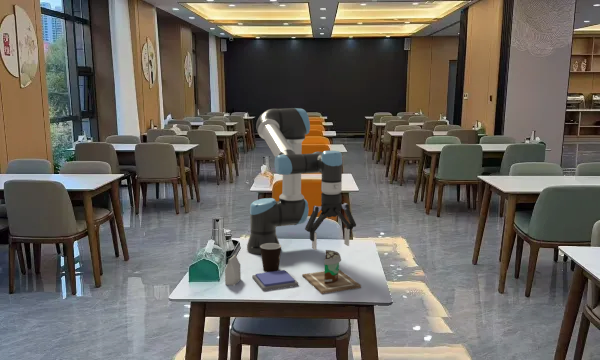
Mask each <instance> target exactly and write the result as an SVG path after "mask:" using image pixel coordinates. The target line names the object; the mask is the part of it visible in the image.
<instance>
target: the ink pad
mask: <svg viewBox="0 0 600 360" xmlns="http://www.w3.org/2000/svg"><path fill="white" fill-rule="evenodd" d="M252 280H254V282H255V284H256V285H257V286H258V287H259V288H260V289H261V291H263V292H264V291H271V289H272V290H277V289H278V288H279V289H285V288H284V287H286V288H291V287H290V286H293V287H298V286H299V282H298V281H297V280H296V279H295V277H293V276H292V275H291V274H290V273H289V272H288V271H287V270H285V269H283V270H278V271H274V272H261V273H260V272H259V273H255V274H253V275H252Z"/></svg>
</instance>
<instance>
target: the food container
mask: <svg viewBox="0 0 600 360" xmlns="http://www.w3.org/2000/svg"><path fill="white" fill-rule="evenodd" d="M324 257H325V258H324V271H325V282H324V284H329V283H334V282H336V281H338V272H339V269H340V262H341V261H342V258H341V254H340V253H339V252H338V251H335V250H331V249H325V256H324Z"/></svg>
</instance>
